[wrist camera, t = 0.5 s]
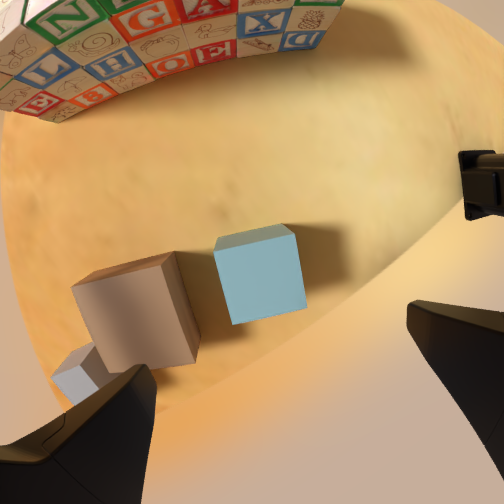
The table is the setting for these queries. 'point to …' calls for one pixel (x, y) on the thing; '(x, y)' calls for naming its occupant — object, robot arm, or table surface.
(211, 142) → the table surface
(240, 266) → the teal cube
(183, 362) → the walnut block
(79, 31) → the stack of blocks
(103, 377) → the light grey cube
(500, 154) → the robot arm
